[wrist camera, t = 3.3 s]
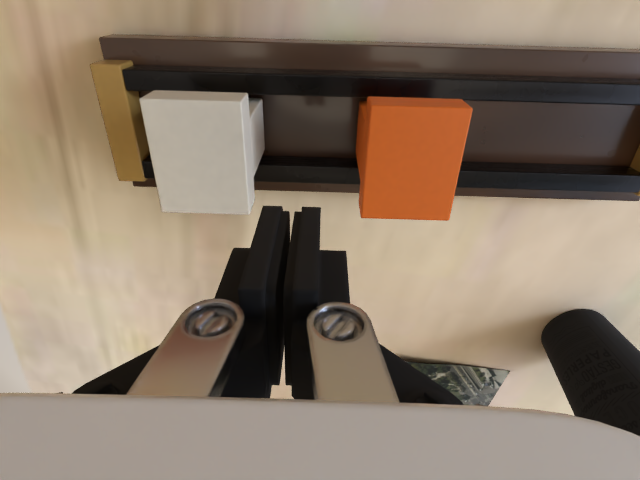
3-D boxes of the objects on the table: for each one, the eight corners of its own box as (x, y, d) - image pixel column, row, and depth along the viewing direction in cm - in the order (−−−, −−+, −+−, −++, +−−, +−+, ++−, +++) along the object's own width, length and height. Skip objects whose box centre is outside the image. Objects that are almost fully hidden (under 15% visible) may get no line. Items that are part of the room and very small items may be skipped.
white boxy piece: (182, 73, 21) (138, 98, 16) (261, 75, 21) (241, 101, 16) (195, 166, 23) (161, 212, 18) (265, 168, 23) (249, 215, 18)
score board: (111, 34, 21) (98, 37, 20) (687, 50, 21) (710, 54, 20) (142, 176, 26) (133, 186, 24) (623, 190, 25) (639, 201, 24)
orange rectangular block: (360, 78, 21) (370, 105, 16) (440, 80, 21) (473, 108, 16) (354, 171, 23) (360, 218, 18) (424, 173, 23) (449, 221, 18)
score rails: (103, 59, 21) (88, 63, 19) (699, 76, 21) (724, 81, 19) (129, 170, 24) (118, 181, 22) (646, 185, 24) (664, 197, 22)
